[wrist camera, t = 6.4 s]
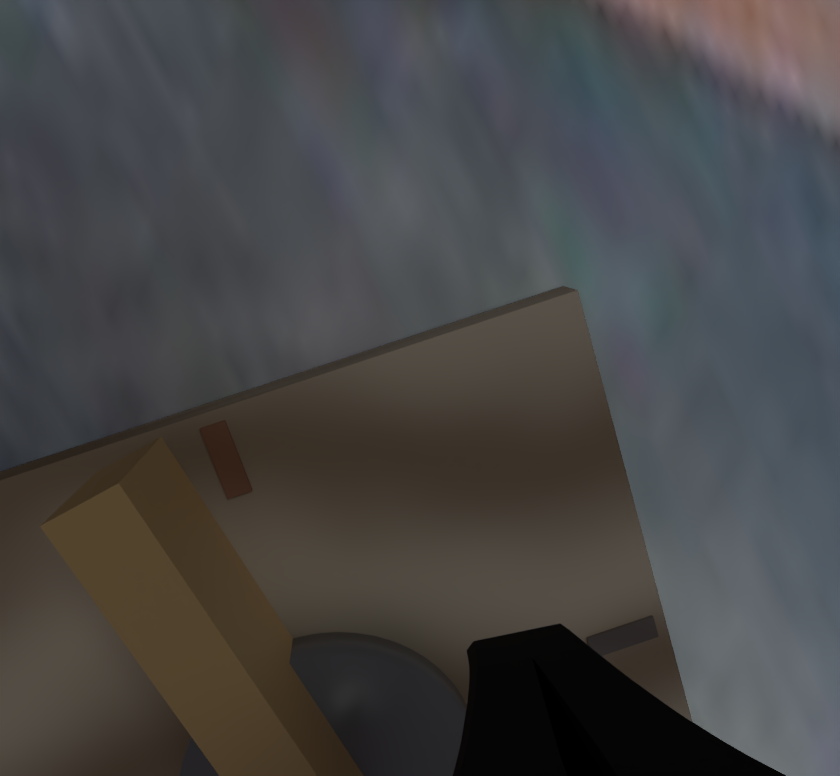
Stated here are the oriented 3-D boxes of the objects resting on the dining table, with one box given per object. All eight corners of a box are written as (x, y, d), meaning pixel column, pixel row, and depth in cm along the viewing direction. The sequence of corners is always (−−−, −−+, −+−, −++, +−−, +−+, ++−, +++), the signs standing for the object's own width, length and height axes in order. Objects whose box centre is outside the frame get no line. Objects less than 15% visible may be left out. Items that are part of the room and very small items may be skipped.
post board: (716, 854, 22) (751, 913, 21) (148, 1050, 22) (129, 1129, 20) (563, 286, 18) (588, 292, 16) (-136, 516, 18) (-195, 551, 16)
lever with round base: (525, 800, 19) (556, 906, 16) (282, 928, 19) (270, 1055, 16) (270, 376, 16) (252, 410, 13) (-12, 530, 16) (-93, 597, 13)
